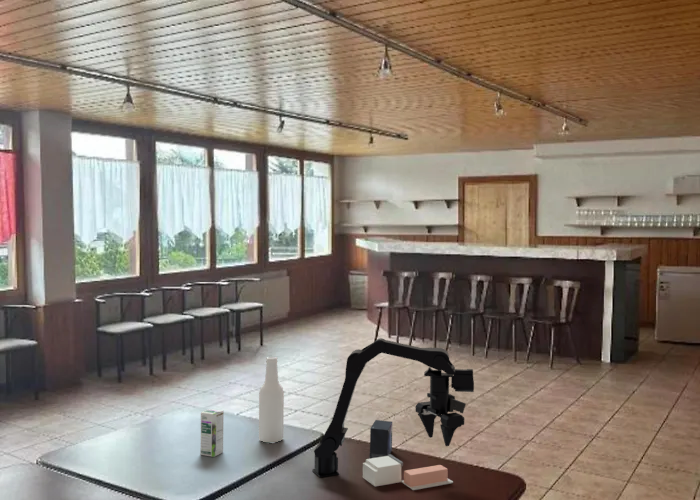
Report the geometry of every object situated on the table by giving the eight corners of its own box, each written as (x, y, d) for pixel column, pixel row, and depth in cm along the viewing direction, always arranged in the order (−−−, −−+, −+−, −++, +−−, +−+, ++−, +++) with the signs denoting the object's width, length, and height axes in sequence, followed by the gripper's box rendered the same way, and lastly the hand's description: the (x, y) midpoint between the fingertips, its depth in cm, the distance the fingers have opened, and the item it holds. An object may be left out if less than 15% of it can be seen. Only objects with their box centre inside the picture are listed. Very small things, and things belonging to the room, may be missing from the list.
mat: (413, 490, 193) (413, 488, 193) (401, 481, 200) (401, 480, 200) (453, 482, 199) (453, 481, 199) (440, 475, 206) (440, 473, 206)
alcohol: (255, 442, 235) (255, 359, 235) (263, 435, 244) (264, 354, 243) (278, 444, 233) (279, 360, 233) (286, 437, 242) (287, 355, 241)
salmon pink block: (410, 487, 195) (410, 475, 195) (403, 482, 198) (403, 470, 198) (447, 480, 200) (447, 468, 200) (440, 475, 204) (440, 464, 204)
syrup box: (199, 455, 222) (199, 412, 221) (209, 449, 227) (209, 408, 227) (214, 457, 220) (214, 414, 219) (223, 452, 225) (224, 409, 225)
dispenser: (374, 486, 196) (375, 466, 196) (362, 477, 203) (362, 458, 203) (402, 481, 200) (403, 462, 200) (390, 472, 207) (390, 454, 207)
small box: (388, 461, 218) (388, 429, 218) (369, 459, 219) (369, 428, 219) (392, 450, 229) (393, 420, 228) (374, 449, 230) (374, 419, 230)
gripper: (479, 394, 196) (479, 447, 196) (444, 381, 213) (444, 430, 213) (448, 398, 191) (447, 452, 191) (414, 385, 208) (414, 434, 208)
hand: (438, 441), depth 201 cm, fingers open, 9 cm apart
